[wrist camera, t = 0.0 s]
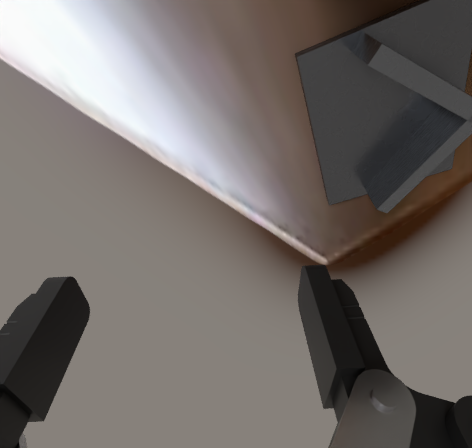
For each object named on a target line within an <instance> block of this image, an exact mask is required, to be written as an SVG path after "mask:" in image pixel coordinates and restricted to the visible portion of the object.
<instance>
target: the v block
mask: <svg viewBox="0 0 472 448" xmlns="http://www.w3.org/2000/svg"><path fill="white" fill-rule="evenodd" d="M471 49H472V0H419V1H417V2H414V3H412V4H410V5H407V6H405V7H403V8H400V9H398V10H396V11H393V12H391V13H389V14H386V15H384V16H382V17H379V18H377V19H375V20H372V21H370V22H368V23H365V24H363V25H361V26H358V27H356V28H354V29H351V30H349V31H347V32H344V33H342V34H340V35H337V36H335V37H333V38H330V39H328V40H326V41H324V42H321V43H319V44H317V45H314V46H312V47H310V48H307V49H305V50H303V51H300V52H298V53H296V54H295V57H296V61H297V66H298V70H299V75H300V79H301V84H302V88H303V93H304V97H305V102H306V106H307V111H308V116H309V120H310V125H311V129H312V134H313V138H314V143H315V147H316V152H317V156H318V161H319V165H320V170H321V174H322V179H323V183H324V188H325V192H326V197H327V201H328V203H329V205H332V204H335V203H339V202H342V201H345V200H349V199H352V198H355V197H359V196H362V195H365V194H368V195H369V197H370V199H371V200H372V202H373V204H374V206H375V207H376V209H377V210H379V211H382V212H385V213H388V212H389V211H390V210H391V209H392V208H393V207H394V206H395V205H396V204H398V203H399V202H400V201H401V200H402V199H403V198H404V197H405V196H406V195H407V194H408V193H409V192H410V191H411V190H412V189H413V188H415V187H416V186H417V185H418V184H419V183H420V182H421V181H422V180H423V179H424V178H425V177H426V176H429V175H433V174H436V173H439V172H443V171H446V170H450V169H452V165H453V159H454V153H455V149H456V148H457V147H458V146H459V145H460V144H461V143H462V142H463V141H464V140H465V139H467V138H468V137H469V136H470V135H471V134H472V96H470V95H469V94H467V93H466V92H465V86H466V80H467V74H468V68H469V61H470V55H471Z"/></svg>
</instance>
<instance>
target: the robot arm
mask: <svg viewBox="0 0 472 448" xmlns="http://www.w3.org/2000/svg"><path fill="white" fill-rule="evenodd" d="M298 303H299V311H300V315H301V319H302V323H303V327H304V331H305V335H306V339H307V344H308V347H309V352H310V356H311V360H312V364H313V368H314V372H315V376H316V380H317V384H318V388H319V392H320V396H321V400H322V404H323V408H324V409H326V408H334V410H335V414H336V418H337V421H338V424H337V426H336V429H335V431H334V434H333V437H332V440H331V442H330V445H329V447H328V448H472V396H466V397H462V398H461V399H459V400H458V401H457V402H456V403H454V402H450V401H447V400H443V399H439V398H436V397H432V396H429V395H425V394H422V393H419V392H416V391H414V390H412V389H410V388H409V387H407V386H405V384H404V383H402V381H401V380H399V379H398V378H397V377H395V376H394V375H393V374H392V373H391V371H390V370H389V368H388V367H387V365H386V363H385V361H384V358H383V356H382V354H381V352H380V350H379V347H378V345H377V343H376V341H375V339H374V336H373V334H372V332H371V330H370V328H369V325H368V323H367V321H366V319H364V315H363V312H362V310H361V308H360V307H359V303H358V301H357V299H356V297H355V295H354V292H353V291H352V290H351V289H350V288H349V287H348V286H347V285H346V284H345V283H344V282H343V281H342V279H337V280H331V278H330V275H329V273H328V270H327V268H326V266H325V265H310V266H302V269H301V277H300V284H299V291H298ZM89 314H90V307H89V304H88V302H87V300H86V298H85V296H84V294H83V292H82V290H81V289H80V287H79V285H78V283H77V281H76V279H75V278H73V277H53V278H47V279H46V280H45V281H44V282H43V284H42V285H41V287H40V288H39V290H38V291H37V293H36V294H31V295H30V296H29V297H28V298H26V299H25V300H24V301H23V302H22V303H21V304H20V305H18V306H17V307H16V309H15V310H14V312H13V313H12V314H11V316H10V317H9V319H8V320H7V324H4V326H3V327H2V329H1V330H0V448H27V444H26V438H25V435H24V434H23V431H24V428H25V427H26V425H27V422H36V421H44V419H45V417H46V415H47V413H48V411H49V408H50V406H51V404H52V401H53V399H54V396H55V395H56V392H57V390H58V388H59V386H60V383H61V381H62V379H63V377H64V374H65V372H66V370H67V367H68V365H69V363H70V361H71V358H72V356H73V354H74V352H75V349H76V347H77V345H78V343H79V340H80V338H81V336H82V334H83V331H84V329H85V327H86V325H87V322H88V320H89Z"/></svg>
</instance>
